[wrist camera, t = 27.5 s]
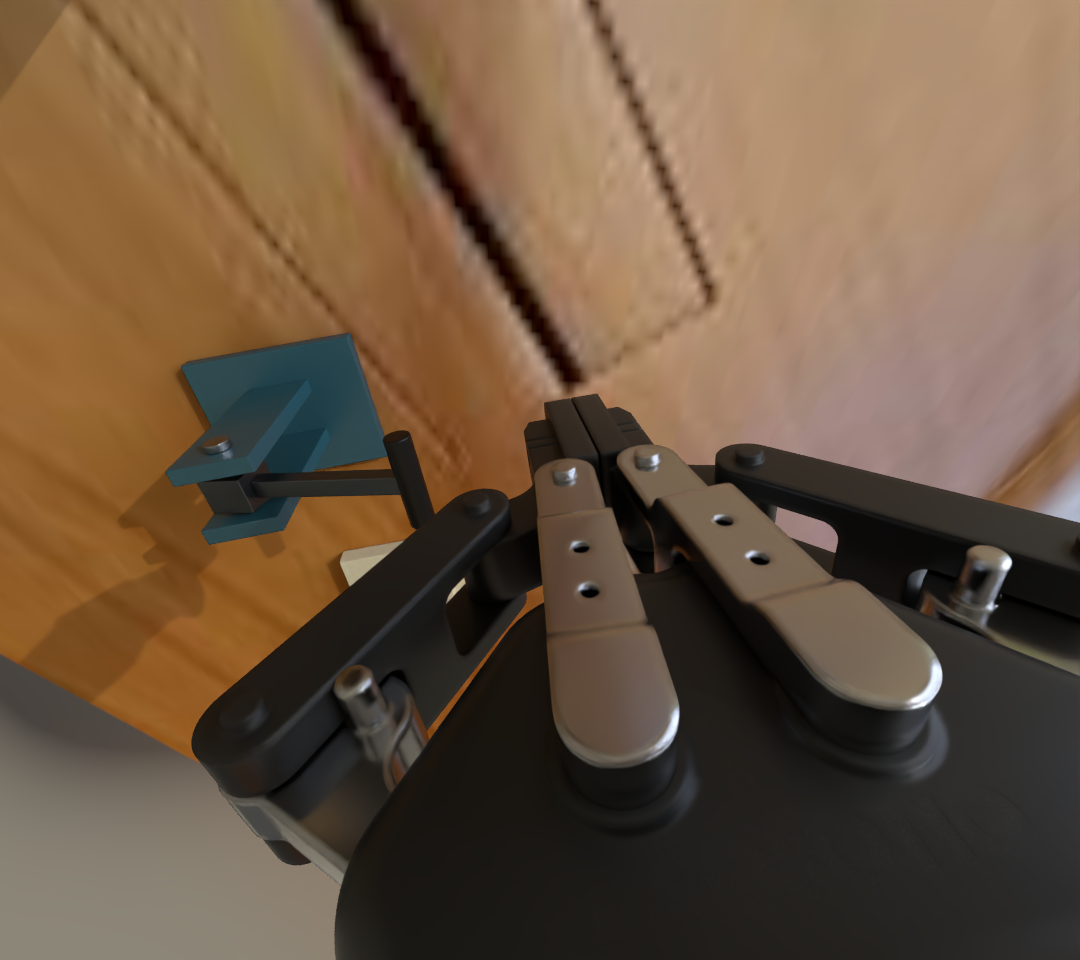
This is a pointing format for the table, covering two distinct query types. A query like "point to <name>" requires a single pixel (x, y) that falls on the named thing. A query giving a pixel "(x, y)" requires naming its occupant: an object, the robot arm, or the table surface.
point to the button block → (372, 562)
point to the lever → (329, 484)
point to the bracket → (278, 422)
